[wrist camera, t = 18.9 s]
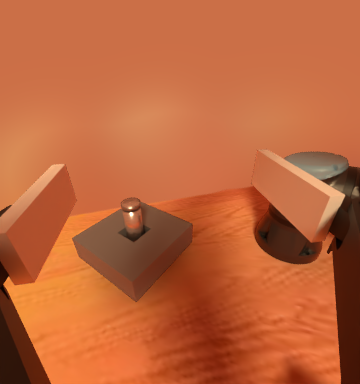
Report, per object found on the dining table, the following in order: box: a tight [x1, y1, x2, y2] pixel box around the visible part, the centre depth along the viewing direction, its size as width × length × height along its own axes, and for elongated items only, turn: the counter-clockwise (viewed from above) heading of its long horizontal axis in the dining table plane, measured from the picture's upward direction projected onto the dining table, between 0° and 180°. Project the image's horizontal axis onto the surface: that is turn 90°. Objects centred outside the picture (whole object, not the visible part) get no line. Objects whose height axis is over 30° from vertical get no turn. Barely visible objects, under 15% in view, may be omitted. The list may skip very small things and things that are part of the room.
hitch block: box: [72, 202, 192, 302], centre depth 50 cm, size 20×20×6 cm
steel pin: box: [121, 198, 144, 242], centre depth 48 cm, size 4×4×14 cm
